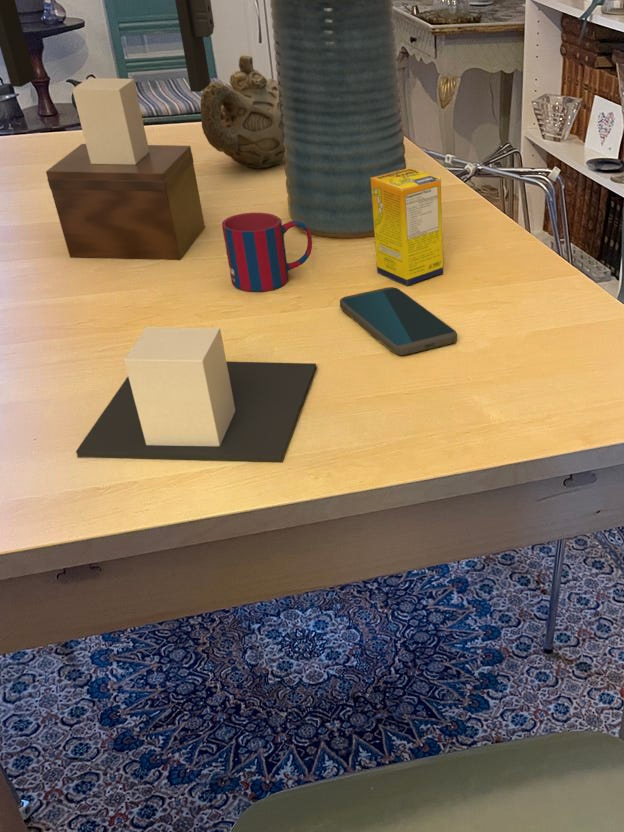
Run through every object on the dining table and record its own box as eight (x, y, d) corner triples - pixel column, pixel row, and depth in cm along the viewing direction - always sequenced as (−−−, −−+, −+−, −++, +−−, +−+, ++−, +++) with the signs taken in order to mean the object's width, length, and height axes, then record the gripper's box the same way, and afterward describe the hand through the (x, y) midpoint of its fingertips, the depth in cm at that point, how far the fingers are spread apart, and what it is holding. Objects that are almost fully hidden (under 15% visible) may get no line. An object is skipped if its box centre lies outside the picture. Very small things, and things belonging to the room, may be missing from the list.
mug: (230, 273, 114) (220, 214, 109) (313, 266, 115) (307, 208, 111) (232, 294, 109) (222, 233, 104) (319, 287, 110) (312, 227, 106)
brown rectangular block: (69, 257, 117) (44, 171, 110) (102, 224, 126) (81, 143, 119) (180, 259, 117) (163, 173, 110) (205, 227, 126) (190, 145, 119)
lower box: (90, 164, 113) (71, 88, 107) (105, 151, 117) (88, 77, 111) (135, 164, 113) (119, 89, 107) (149, 152, 117) (134, 78, 111)
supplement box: (412, 260, 117) (408, 166, 110) (444, 274, 114) (442, 177, 106) (375, 273, 114) (368, 176, 107) (406, 287, 111) (402, 188, 103)
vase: (284, 205, 133) (248, -74, 111) (397, 197, 136) (384, -77, 115) (296, 245, 121) (259, -59, 100) (420, 235, 124) (410, -62, 103)
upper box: (146, 445, 82) (123, 359, 77) (166, 409, 87) (146, 326, 82) (219, 446, 82) (202, 360, 77) (235, 410, 87) (220, 327, 82)
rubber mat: (77, 457, 82) (75, 451, 81) (140, 364, 95) (139, 359, 95) (282, 462, 81) (281, 456, 81) (316, 368, 95) (316, 363, 94)
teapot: (261, 145, 155) (246, 39, 145) (322, 152, 152) (312, 44, 142) (186, 181, 141) (164, 66, 131) (253, 190, 138) (235, 73, 127)
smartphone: (396, 293, 109) (396, 285, 108) (461, 341, 99) (461, 333, 99) (336, 306, 106) (335, 298, 105) (397, 357, 96) (397, 349, 96)
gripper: (243, -307, 59) (285, 78, 73) (-144, -312, 60) (-28, 70, 74) (211, -317, 53) (263, 101, 68) (-215, -323, 54) (-74, 92, 68)
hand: (112, 85), depth 71 cm, fingers open, 13 cm apart
